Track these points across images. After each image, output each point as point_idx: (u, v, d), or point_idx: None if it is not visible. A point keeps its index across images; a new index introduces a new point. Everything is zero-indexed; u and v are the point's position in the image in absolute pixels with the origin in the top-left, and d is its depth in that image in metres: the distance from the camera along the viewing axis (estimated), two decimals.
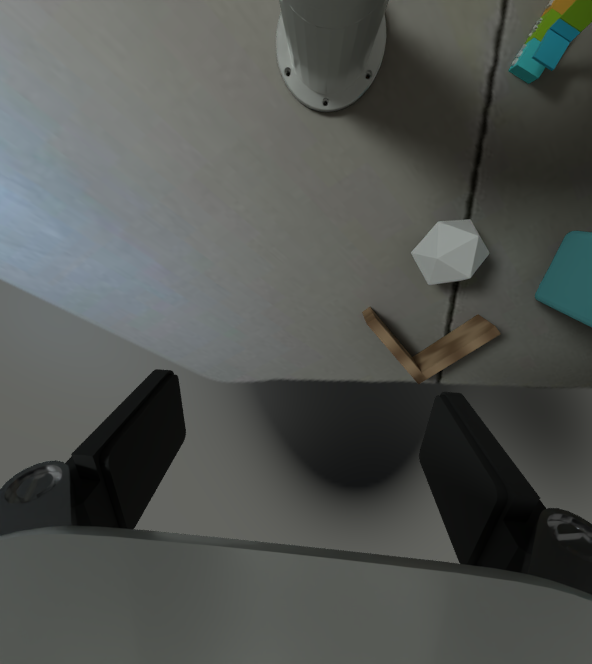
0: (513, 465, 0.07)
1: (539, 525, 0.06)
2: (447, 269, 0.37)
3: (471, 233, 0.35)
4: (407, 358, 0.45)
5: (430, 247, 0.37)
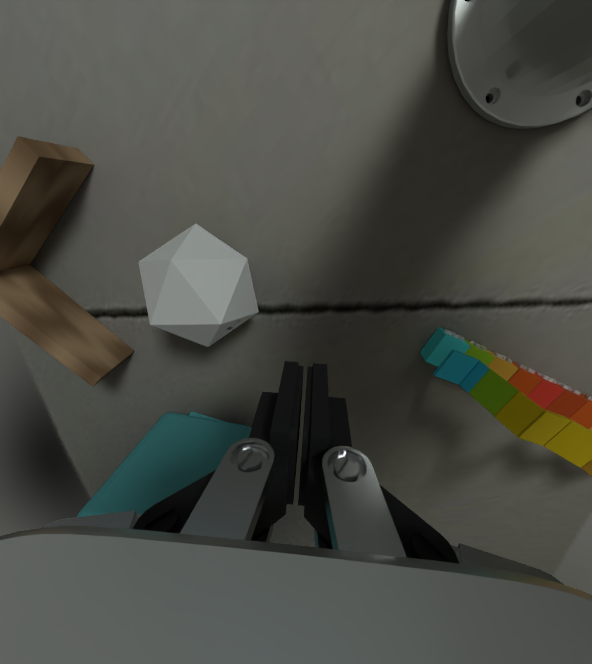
0: (327, 415, 0.08)
1: (325, 475, 0.07)
2: (159, 283, 0.19)
3: (225, 312, 0.20)
4: None
5: (197, 250, 0.20)
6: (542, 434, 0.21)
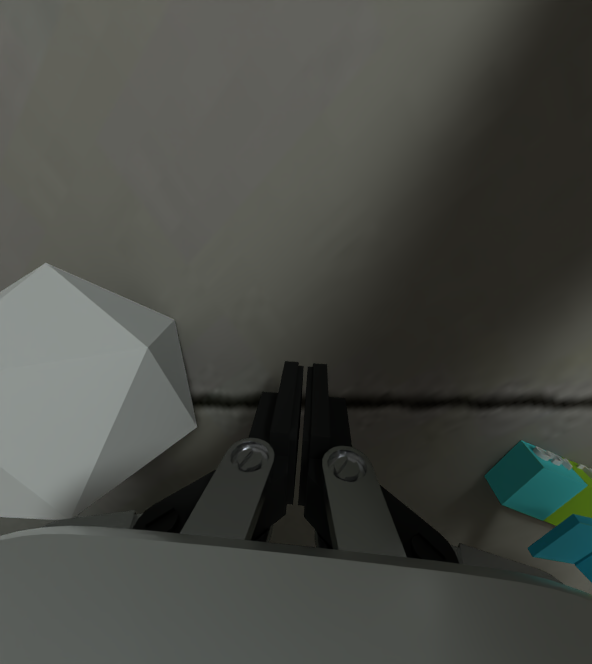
0: (327, 415, 0.08)
1: (325, 475, 0.07)
2: None
3: (85, 487, 0.08)
4: None
5: (11, 337, 0.08)
6: None
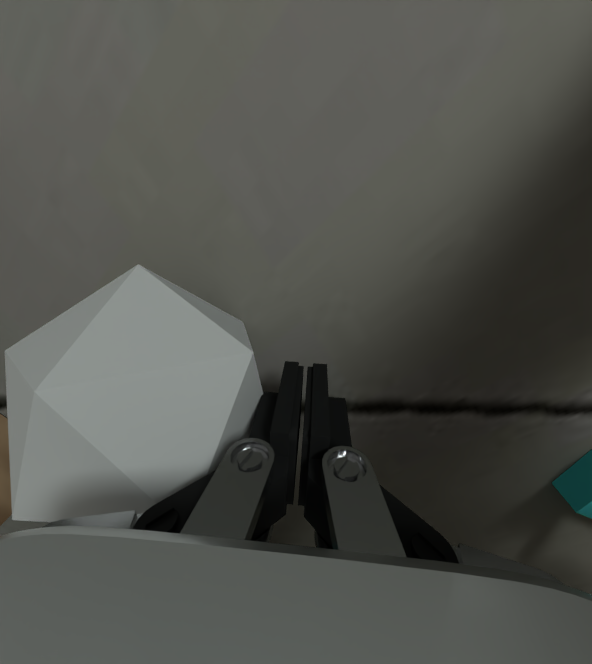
0: (327, 415, 0.08)
1: (325, 475, 0.07)
2: (20, 435, 0.07)
3: None
4: None
5: (128, 342, 0.08)
6: None
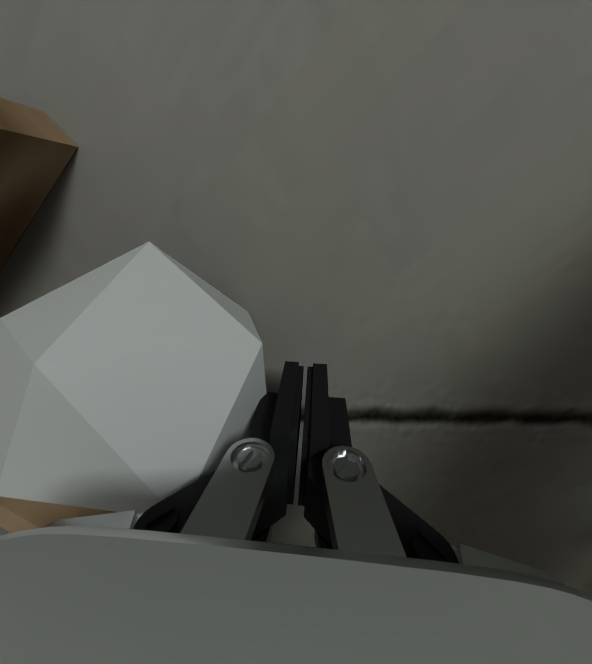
0: (327, 415, 0.08)
1: (325, 475, 0.07)
2: (13, 408, 0.07)
3: None
4: None
5: (134, 320, 0.07)
6: None
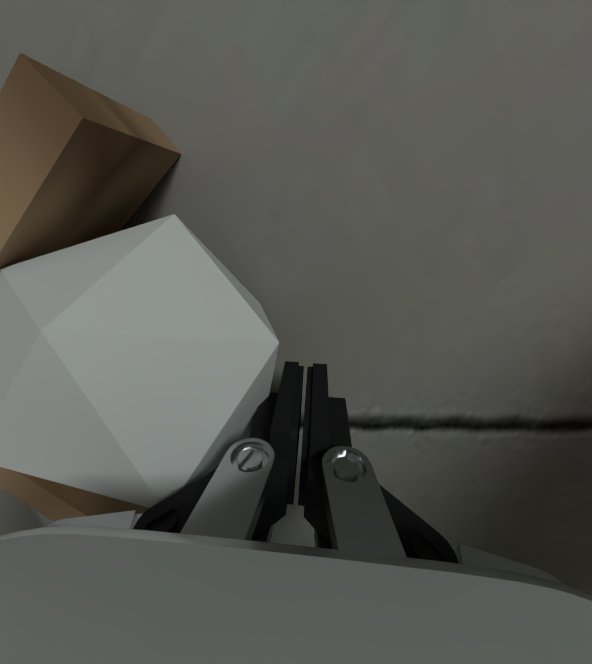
0: (327, 415, 0.08)
1: (325, 475, 0.07)
2: (6, 371, 0.06)
3: (187, 479, 0.07)
4: None
5: (152, 298, 0.07)
6: None
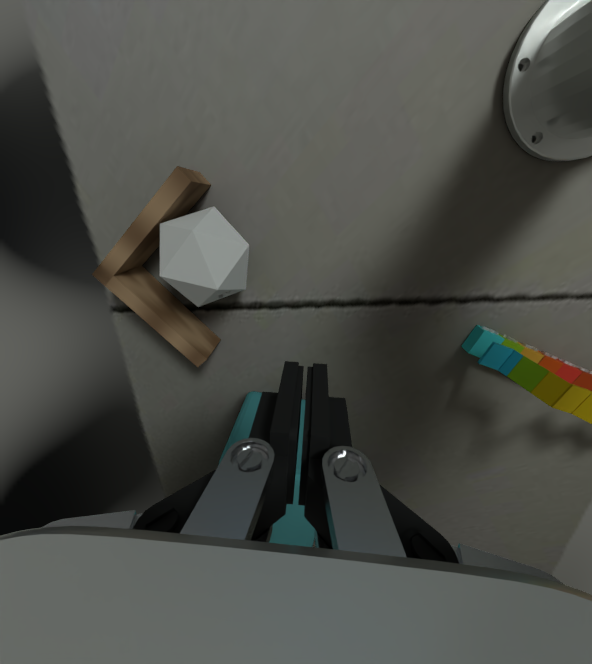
0: (327, 415, 0.08)
1: (325, 475, 0.07)
2: (176, 246, 0.24)
3: (222, 281, 0.25)
4: (131, 249, 0.27)
5: (212, 228, 0.25)
6: (570, 403, 0.27)
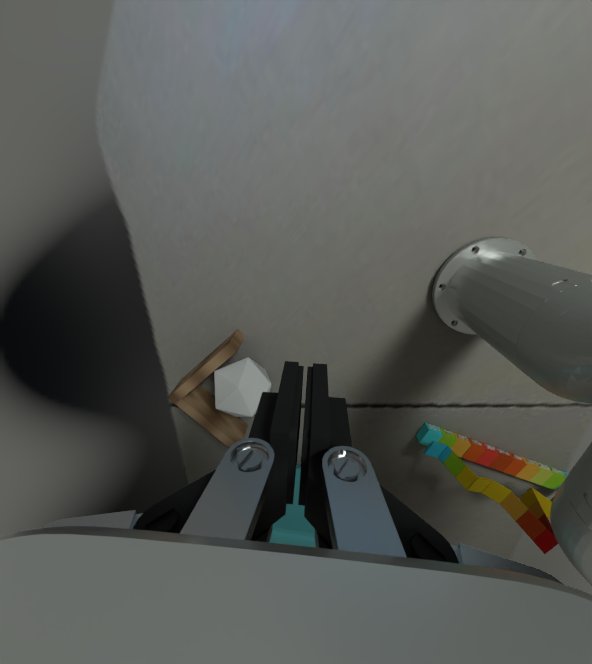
0: (327, 415, 0.08)
1: (325, 475, 0.07)
2: (226, 392, 0.39)
3: (255, 411, 0.40)
4: (195, 385, 0.42)
5: (249, 378, 0.40)
6: (478, 487, 0.41)
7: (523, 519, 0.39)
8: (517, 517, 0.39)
